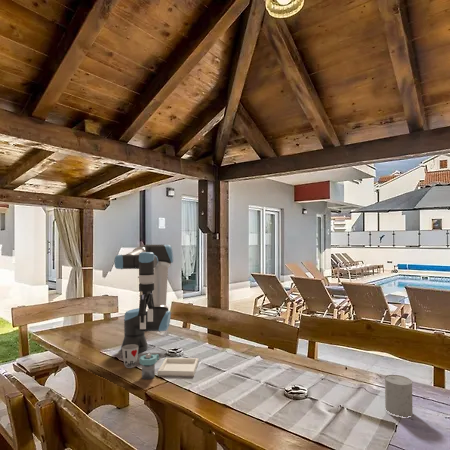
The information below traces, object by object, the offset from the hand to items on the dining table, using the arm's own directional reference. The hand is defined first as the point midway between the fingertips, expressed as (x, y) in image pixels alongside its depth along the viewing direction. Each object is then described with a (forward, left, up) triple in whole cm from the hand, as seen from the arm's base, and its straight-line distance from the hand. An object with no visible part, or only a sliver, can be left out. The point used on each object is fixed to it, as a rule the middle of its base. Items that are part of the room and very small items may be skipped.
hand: (146, 325), depth 178 cm
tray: (-2, +16, -22) cm, 28 cm away
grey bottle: (+8, +3, -22) cm, 24 cm away
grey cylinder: (+36, +108, -23) cm, 116 cm away
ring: (+9, +3, -15) cm, 18 cm away
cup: (-4, -10, -23) cm, 25 cm away
